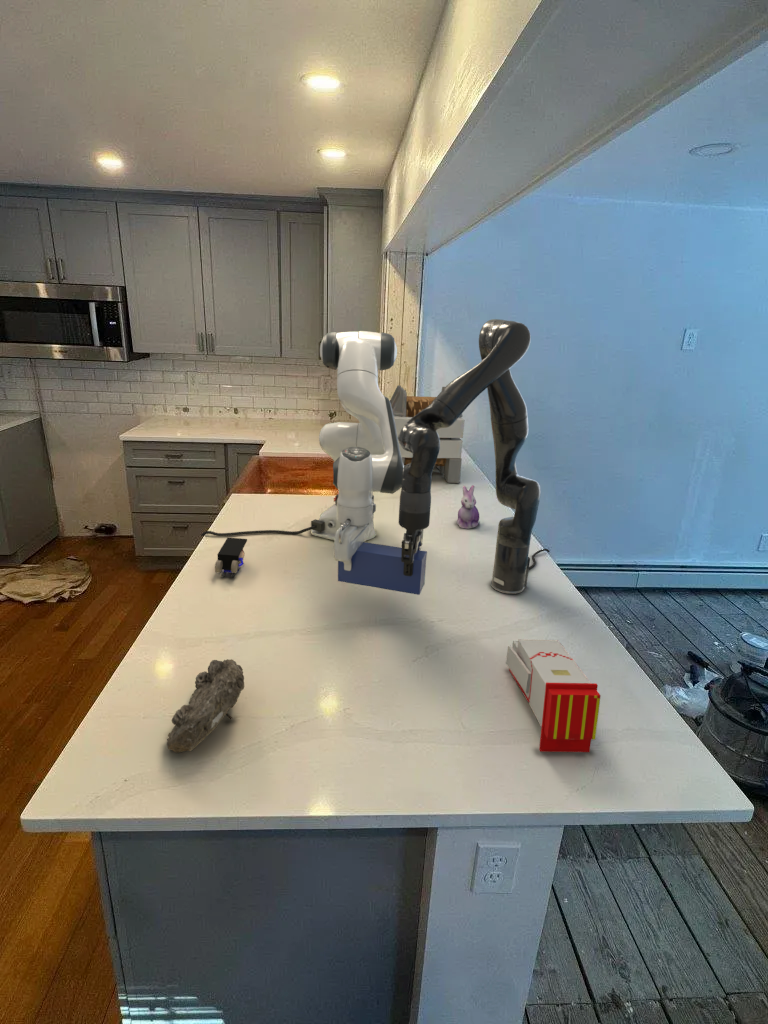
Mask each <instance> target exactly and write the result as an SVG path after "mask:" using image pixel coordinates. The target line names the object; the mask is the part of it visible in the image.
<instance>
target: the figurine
mask: <svg viewBox="0 0 768 1024" xmlns="http://www.w3.org/2000/svg"><path fill="white" fill-rule="evenodd" d="M474 492H475V485H474V484H472V485H471V486H470V487H469V489H468V488H467V487H466V485H463V486H462V497H461V500H460V503H461V508H459V509H458V510H457V511H458V512H457V520H456V524H457V526H459V528H460V529H467V530H468V529H473V528H476V527H477V526H478V525H479V522H480V512H479V509H478V507H477V506H476V505H477V500H476V497H475V495H474Z"/></svg>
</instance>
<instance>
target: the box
mask: <svg viewBox="0 0 768 1024" xmlns="http://www.w3.org/2000/svg"><path fill="white" fill-rule="evenodd" d="M413 550H414V549H413ZM427 555H428V551H426V550H417V553H416V554H415V556H414V562H413V574H412V576H405V575H404V574H403V571H404V562H401V557H402V546H401V547H399V546H393V545H387V544H381V543H380V544H379V543H373V542H368V541H367V542H366V541H365V542H363V543H362V545H361V546H360V547H359V548H358V549H357V551H356V552H355V554H354V555H353V556H352V559H351V561H352V563H353V568H352V569H351V570H350V571H347V570H344V562H342V561H337V562H338V563H337V582H341V583H346V584H353V585H359V586H363V587H364V586H365V587H371V588H375V589H382V590H387V591H393V592H400V593H405V594H411V595H418V596H420V595H421V593H422V590H423V589H424V587H425V583H426V567H427ZM406 557H410V556H409V555H407V556H406Z"/></svg>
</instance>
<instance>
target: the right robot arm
mask: <svg viewBox="0 0 768 1024" xmlns="http://www.w3.org/2000/svg"><path fill="white" fill-rule="evenodd" d="M531 337H532V336H531V332H530V329H529V327H528V326H527V325H526V324H525V323H523V322H519V321H514V320H507V319H499V318H493V319H492V318H491V319H489V320H487V321H486V322H484V324H483V325H482V327H481V328H480V331H479V334H478V350H479V354H480V355H479V356H480V359H481V361H480V362H478V364H476V365H475V366H473V367H471V369H469V370H467V371H466V372H463V373H462V374H460V375H459V376H457V377H456V378H454V379H453V380H452V381H450V382H449V383H448V384H447V385H446V386H444V387H445V388H444V389H443V390H442V389H441V391H440V392H439V393H438V395H437V396H435V397H436V398H435V399H434V400H433V402H432V403H431V404H430V405H429V406H428V407H426V408H425V409H423V410H422V411H421V412H419V413H418V414H417V415H415V416H414V417H413V418H411V419H410V420H409V421H408V422H407V423H406V424H405V425H404V426H403V428H402V429H401V431H400V434H399V443H400V446H401V447H402V448H403V449H404V450H406V451H408V452H410V453H412V454H413V457H412V461H411V463H409V464H407V465H404V468H403V472H402V487H401V488H400V495H399V504H398V525H399V526H400V527H401V528H403V529H405V530H406V531H405V532H404V533H403V537H402V540H401V548H402V557H401V562H404V571H403V574H404V575H405V576H412V574H413V562H414V556H415V554H416V553H417V550H421V549H422V547H423V540H424V539H423V538H424V530H426V529H427V528H429V526H430V523H431V522H430V521H431V520H430V519H431V507H432V506H431V505H432V477H433V476H432V474H433V472H434V469H435V467H436V466H435V463H436V460H437V457H438V454H439V450H440V439H439V436H438V433H437V432H436V430H438V429H440V428H447V427H450V426H451V425H452V424H453V423H454V422H455V421H456V420H457V419H458V418H459V416H460V415H461V414H462V415H463V413H464V412H465V411H466V410H467V408H468V407H469V406H470V405H471V404H472V403H473V402H474V401H475V399H477V397H479V396H480V395H481V394H482V393H483V392H484V391H485V390H487V396H488V404H489V413H490V414H489V415H490V425H491V432H492V433H491V434H492V439H493V449H494V462H495V463H494V464H495V495H496V499H497V501H498V503H500V504H501V505H502V506H504V507H507V508H510V509H511V510H512V509H513V510H514V515H513V516H508V517H504V518H502V519H500V520H499V522H498V526H497V535H496V542H495V543H496V544H495V550H494V551H495V552H494V560H493V568H492V577H491V582H490V586H491V588H492V589H493V590H495V591H497V592H499V593H502V594H508V595H517V594H520V593H523V592H524V590H525V589H526V588H527V584H528V578H529V577H528V576H529V571H530V570H531V569H533V568H534V567H535V566H536V564H537V561H536V558H535V557H536V556H537V555H539V554H540V553H542V552H547V553H551V552H550V549H548V548H542V549H543V550H542V549H539V550H537V551H536V552H535V553H533V554H532V555H531V557H530V556H529V554H530V547H531V546H530V545H531V540H532V534H533V533H532V532H533V529H534V526H535V524H536V521H537V516H538V511H539V505H540V500H541V495H542V492H541V485H540V483H539V482H538V481H537V480H535V479H532V478H530V477H525V476H522V475H519V473H518V470H517V457H518V454H519V452H520V451H521V449H522V447H523V445H524V444H525V442H526V440H527V438H528V435H529V415H528V408H527V404H526V402H525V400H524V398H523V396H522V394H521V392H520V389H519V388H518V385H516V383H515V380H514V378H513V375H512V372H511V368H512V367H514V366H515V365H516V364H517V363H518V362H519V361H520V360H521V359H522V358H523V357H524V356H525V355H526V353H527V352H528V350H529V348H530V345H531V341H532V338H531ZM413 549H414V550H413ZM421 551H422V550H421ZM407 555H409V556H410V557H406V556H407ZM531 559H532V561H533V563H532V564H530V563H531Z"/></svg>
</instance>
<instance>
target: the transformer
mask: <svg viewBox="0 0 768 1024" xmlns="http://www.w3.org/2000/svg"><path fill="white" fill-rule="evenodd" d="M445 387H446V386H442V387H441V391H442V390H443V389H444V388H445ZM407 394H408V393H407V390H406V389H404V388H403V387H402V385H399V384H398V385H397V386H396V388H395V390H394V392H393V394H392V395H391V398H390V399H389V401H390V403H391V407H392V411H393V416H394V421H395V426H396V432H397V437H398V443H399V434H400V431H401V429H402V428H403V426H404V425H405V424H406V423H407V422H408V421H409V420H410V419H411V418H413V417H414V416H415V415H417V414H418V413H419V412H421V411H422V410H423V409H425V408H426V407H428V406H429V405H430V404H431V403H432V402H433V400H434V399H435V398H436V397H437V396H415V395H414V396H413V395H412V396H411V395H407ZM464 429H465V419H464V418H463V413H462V414H461V415H460V416H459V418H458V419H457V420H456V421H455V422H454V423H453V424H452V425H451V426H450V427H447V428H440V429H438V430H436V432H437V433H438V436H439V439H440V450H439V454H438V457H437V460H436V463H435V466H434V467H436V468H437V470H438V469H439V473H440V474H441V475H443V478H444V479H445V481H446V482H447V483H449V484H455V483H456V484H459V483H461V472H462V461H463V460H462V453H463V442H464V441H463V440H462V439H463V438H464V431H465V430H464ZM399 449H400V454H401V458H402V462H403V464H404V466H405V465H407V464H409V463H411V461H412V457H413V454H412V453H410V452H408V451H406V450H404V449H403V448H402V447H401V446H400V443H399Z"/></svg>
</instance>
